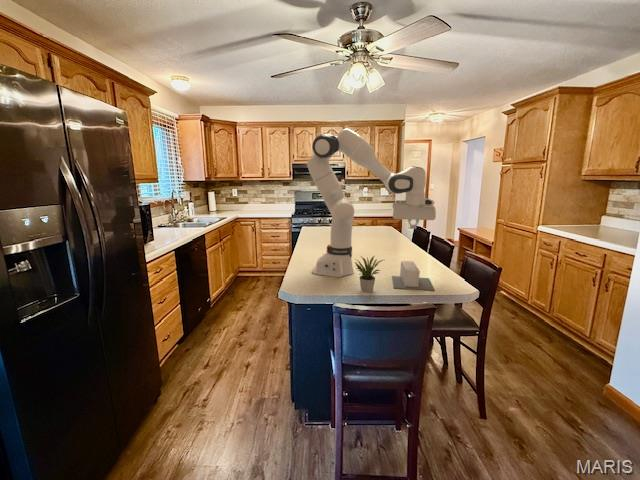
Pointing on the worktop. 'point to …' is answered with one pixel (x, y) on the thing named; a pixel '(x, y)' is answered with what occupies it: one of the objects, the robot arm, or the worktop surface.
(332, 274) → the robot arm
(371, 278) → the house plant
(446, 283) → the worktop surface
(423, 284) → the mat
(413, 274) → the skincare box
